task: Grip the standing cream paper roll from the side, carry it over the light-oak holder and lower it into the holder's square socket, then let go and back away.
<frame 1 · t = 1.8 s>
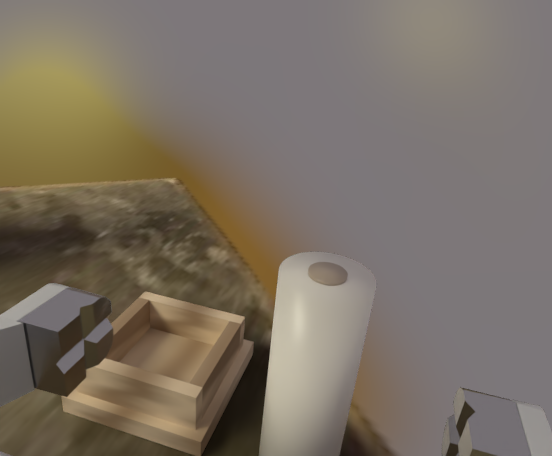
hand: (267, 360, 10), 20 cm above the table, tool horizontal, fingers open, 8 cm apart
holder: (167, 380, 36), on the table
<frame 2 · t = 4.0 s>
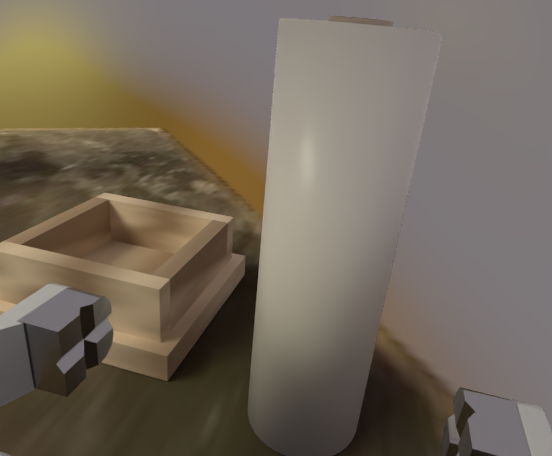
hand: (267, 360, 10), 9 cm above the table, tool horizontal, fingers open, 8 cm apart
holder: (130, 297, 27), on the table
roll: (302, 411, 20), on the table
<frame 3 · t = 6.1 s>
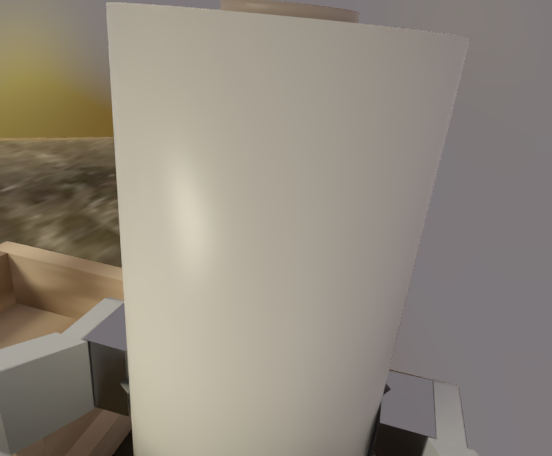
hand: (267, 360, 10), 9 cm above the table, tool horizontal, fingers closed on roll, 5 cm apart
holder: (24, 392, 20), on the table
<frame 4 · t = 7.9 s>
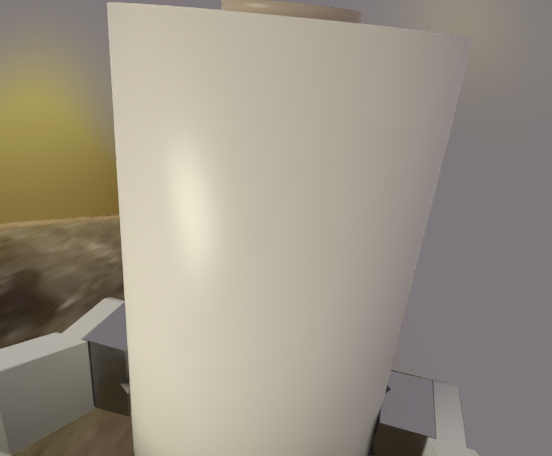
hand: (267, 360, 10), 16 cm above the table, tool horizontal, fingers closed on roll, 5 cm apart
when the fingers open (12 cm above the table, at t = 9.8 s): roll drops 1 cm, resting on holder.
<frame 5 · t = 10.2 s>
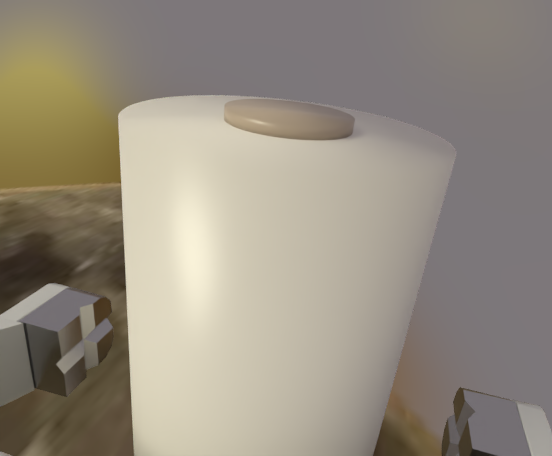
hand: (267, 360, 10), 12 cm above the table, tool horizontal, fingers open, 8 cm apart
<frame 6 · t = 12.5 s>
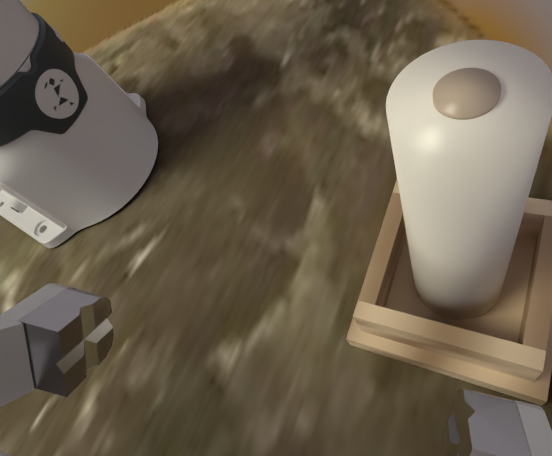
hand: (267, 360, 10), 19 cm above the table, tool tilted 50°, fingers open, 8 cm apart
holder: (457, 289, 29), on the table
roll: (456, 280, 27), point 1 cm above the table, touching holder
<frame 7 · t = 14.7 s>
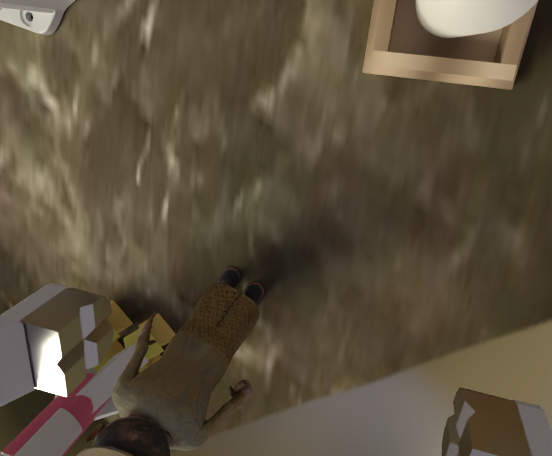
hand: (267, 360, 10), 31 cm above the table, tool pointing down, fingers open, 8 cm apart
figurine: (239, 297, 48), on the table
holder: (451, 1, 33), on the table
roll: (451, 0, 32), point 1 cm above the table, touching holder
toy rocket: (136, 341, 55), on the table
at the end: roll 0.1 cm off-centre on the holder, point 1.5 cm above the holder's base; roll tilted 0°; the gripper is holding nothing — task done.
